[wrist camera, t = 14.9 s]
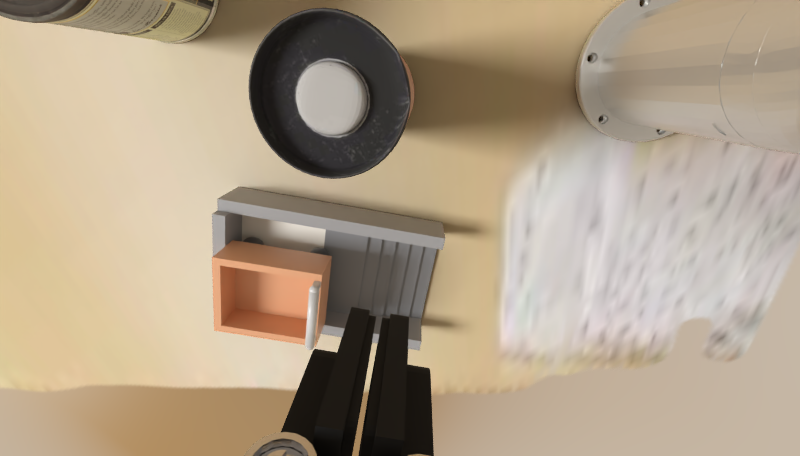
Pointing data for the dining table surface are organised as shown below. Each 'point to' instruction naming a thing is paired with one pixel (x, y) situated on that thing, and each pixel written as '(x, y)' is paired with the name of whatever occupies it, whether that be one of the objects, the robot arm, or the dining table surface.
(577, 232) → the dining table surface
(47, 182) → the dining table surface
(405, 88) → the travel mug
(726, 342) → the dining table surface
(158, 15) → the coffee can
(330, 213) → the drawer housing
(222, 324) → the orange drawer with handle
